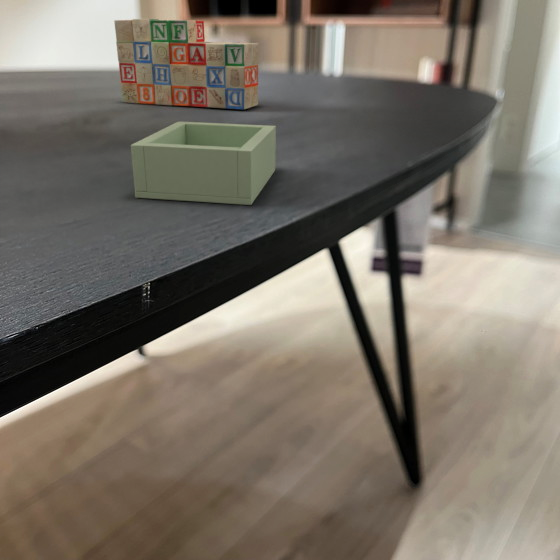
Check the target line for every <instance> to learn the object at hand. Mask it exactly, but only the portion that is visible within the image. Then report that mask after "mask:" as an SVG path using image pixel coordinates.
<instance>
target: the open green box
mask: <svg viewBox="0 0 560 560" xmlns="http://www.w3.org/2000/svg"><path fill="white" fill-rule="evenodd" d="M276 143H277V126H276V125H264V124H244V123H243V124H242V123H241V124H240V123H223V122H222V123H221V122H219V123H218V122H197V121H195V122H194V121H177V122H175V123H173V124H170V125H168V126H166V127H164V128H162V129H160V130H157V131H156V132H154V133H152V134H150V135H148V136H146V137H144V138H142V139H140V140H138V141H136V142H134V143H132V144H130V151H131V161H132V162H131V163H132V174H133V185H134V197H135V198H137V199H152V200H165V201H168V200H169V201H182V202H183V201H184V202H197V203H214V204H229V205H242V206H243V205H245V206H252V204H253V203H254V201H255V200H256V199H257V198H258V196H259V195H260V193H261V191H262V190H263V189H264V187H265V186H266V184H267V183H268V182H269V180H270V178H271V177H272V176H273V175H274V173H275V171H276V153H277V152H276V151H277V149H276V148H277V147H276V146H277V145H276Z"/></svg>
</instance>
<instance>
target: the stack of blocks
mask: <svg viewBox="0 0 560 560" xmlns="http://www.w3.org/2000/svg"><path fill="white" fill-rule="evenodd" d="M113 21H114V31H115V39H116V42H115V43H116V51H117V53H116V54H117V61H118V69H119V79H120V89H121V90H120V91H121V99H122V103H128V104H140V105H141V104H142V105H160V106H177V107H178V106H180V107H196V108H210V109H211V108H213V109H226V110H227V109H228V110H229V109H230V110H246V109H250V108H253V107H256V106H258V105H259V42H240V41H239V42H238V41H237V42H235V41H205V39H206V38H205V37H206V36H205V21H204V20H195V19H194V20H191V19H190V20H189V19H187V20H185V19H159V18H132V19H114V20H113Z"/></svg>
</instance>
